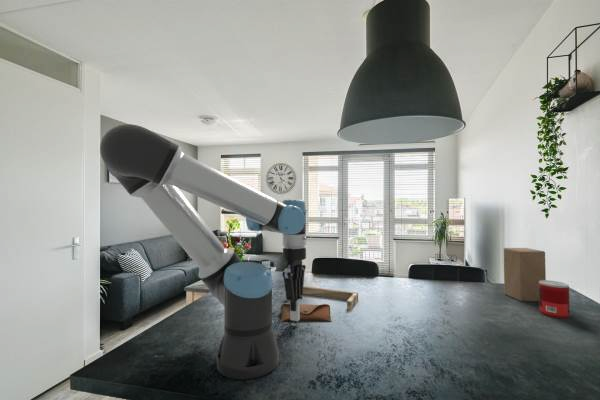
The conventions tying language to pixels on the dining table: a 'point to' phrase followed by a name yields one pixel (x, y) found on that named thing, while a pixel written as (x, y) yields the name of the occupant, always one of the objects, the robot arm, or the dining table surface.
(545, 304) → the canned food
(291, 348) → the dining table surface
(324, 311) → the sunglasses case
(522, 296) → the wooden block
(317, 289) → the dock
